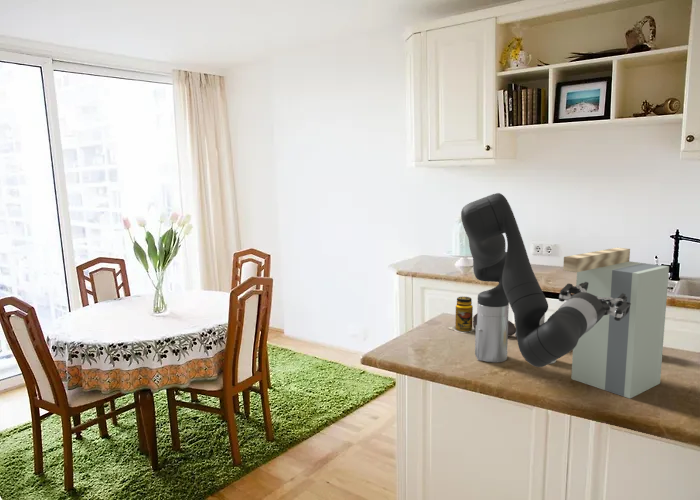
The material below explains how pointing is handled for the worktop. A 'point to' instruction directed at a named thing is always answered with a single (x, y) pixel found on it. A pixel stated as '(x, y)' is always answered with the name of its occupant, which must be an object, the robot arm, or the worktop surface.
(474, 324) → the perforated stone tool
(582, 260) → the beech rod
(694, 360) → the worktop surface
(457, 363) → the worktop surface
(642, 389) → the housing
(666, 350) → the worktop surface
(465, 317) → the condiment
